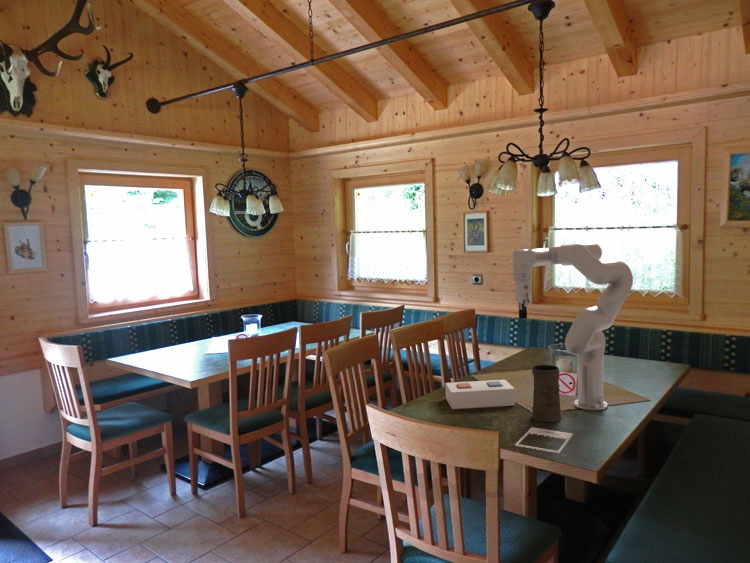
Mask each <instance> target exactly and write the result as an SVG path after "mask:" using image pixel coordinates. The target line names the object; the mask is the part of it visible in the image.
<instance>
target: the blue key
mask: <svg viewBox="0 0 750 563" xmlns="http://www.w3.org/2000/svg"><path fill="white" fill-rule="evenodd" d="M487 385H488V386H489V387H502V384H501V383H500V382H499V381H495V382H487Z"/></svg>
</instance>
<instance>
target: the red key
mask: <svg viewBox="0 0 750 563" xmlns="http://www.w3.org/2000/svg"><path fill="white" fill-rule="evenodd" d="M457 388H458V389H468V388H471V386H470V384H469V383H458V384H457Z"/></svg>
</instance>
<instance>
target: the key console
mask: <svg viewBox="0 0 750 563" xmlns="http://www.w3.org/2000/svg"><path fill="white" fill-rule="evenodd" d="M495 381H499V382H500V383H501V384H502V387H489V386H488V385H487V382H495ZM458 383H469V384H470V386H471V388H468V389H458V388H457V384H458ZM445 399H446V401H447V402H448V404H449V406H450V408H451V409H452V410H461V409H476V408H494V407H507V406H509V407H510V406H516V392H515V387H514V386H512V384H511V383H510V382H508V381H507V379H493V380H489V379H487V380H475V381H473V380H472V381H457V382H456V381H455V382H454V381H453V382H445Z"/></svg>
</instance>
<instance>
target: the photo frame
mask: <svg viewBox="0 0 750 563" xmlns="http://www.w3.org/2000/svg"><path fill="white" fill-rule="evenodd" d="M529 433H530V434H529ZM533 434H537V435H536V436H539V435H544V436H543V437H546V436H549V437H548V438H552V437H554V439H558V438H559V439H560V440H564V439H565V440H564V442H563V444H562V445H561V446H560V447H559V449H558V450H553V449H549V448H548V449H547V448H541V447H538V446H537V447H536V446H530V445H524V444H521V442H523V440H524V439H525V438H526V437H528V435H533ZM573 436H574V433H570V432H566V431H565V432H564V431H557V430H551V429H546V428H539V427H534V426H533V427H530V428H529V429H528V431H526V433H524V435H522V436H521V437H520V438H519V440H518V441H517V442H516V443H515V444H514V446H515V447H519V448H524V447H525V448H526V449H530V448H531V450H535V449H536V451H541V450H542V451H541V452H548V453H553V454H558V455H559V454H561V452H562V451H563V450H564V448H565V447H566V445H568V443H569V441H570V440H571V439H572V438H573ZM559 439H558V440H559ZM519 443H520V444H519Z"/></svg>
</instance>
